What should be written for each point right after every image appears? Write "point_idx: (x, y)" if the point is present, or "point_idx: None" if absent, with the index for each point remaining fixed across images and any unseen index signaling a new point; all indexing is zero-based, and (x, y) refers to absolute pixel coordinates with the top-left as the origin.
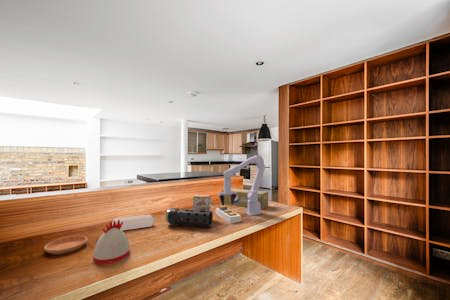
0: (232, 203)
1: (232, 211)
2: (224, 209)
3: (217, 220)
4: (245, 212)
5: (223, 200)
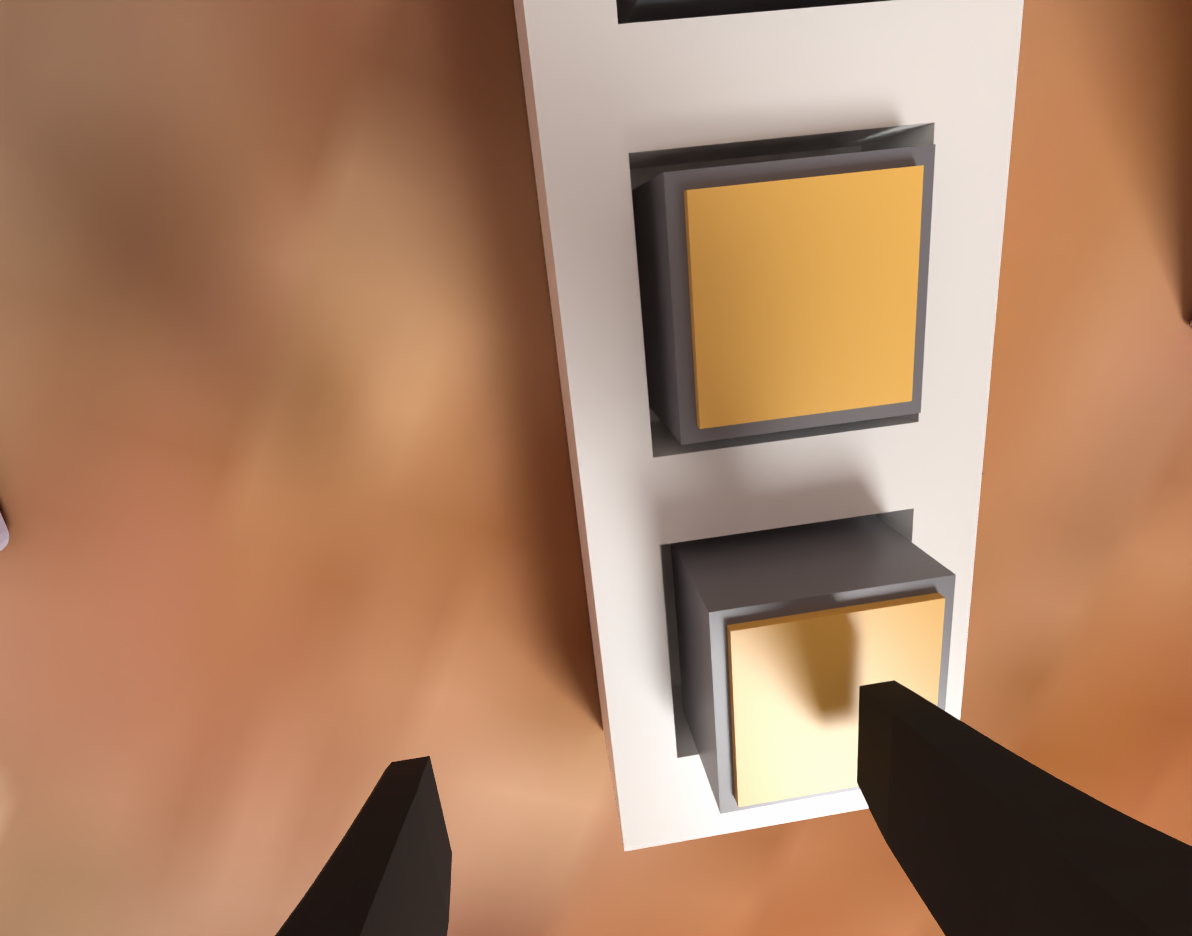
0: (416, 786)
1: (588, 254)
2: (801, 550)
3: (1091, 116)
4: (3, 532)
5: (1103, 850)
